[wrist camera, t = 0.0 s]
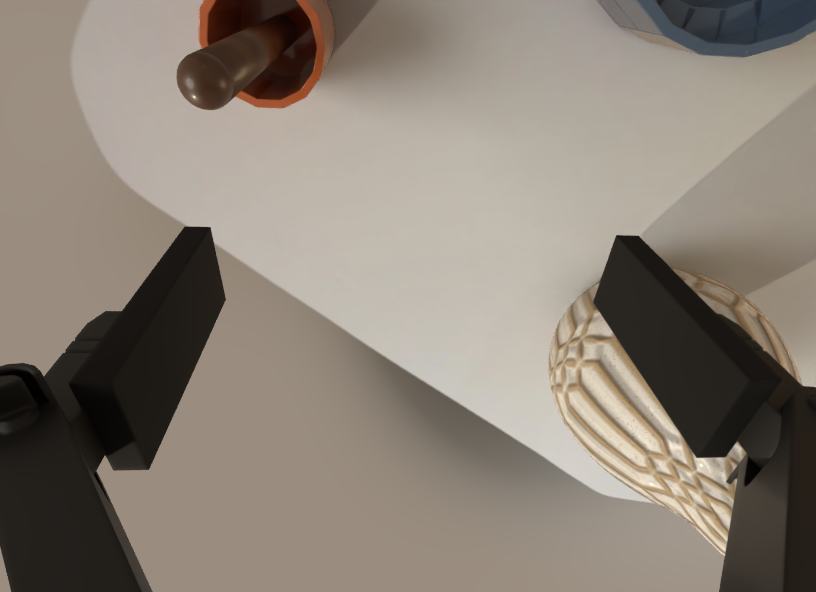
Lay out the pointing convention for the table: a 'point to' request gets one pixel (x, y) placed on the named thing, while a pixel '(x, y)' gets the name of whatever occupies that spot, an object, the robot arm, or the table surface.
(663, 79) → the table surface
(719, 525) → the vase
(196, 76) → the stick
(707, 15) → the bowl
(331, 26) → the holder
